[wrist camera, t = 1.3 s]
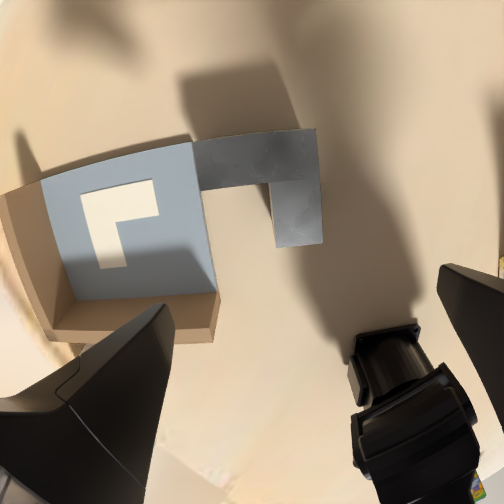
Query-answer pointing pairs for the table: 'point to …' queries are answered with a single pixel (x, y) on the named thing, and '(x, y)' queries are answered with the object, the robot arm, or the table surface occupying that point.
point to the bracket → (270, 177)
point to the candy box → (501, 268)
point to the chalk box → (477, 489)
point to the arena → (115, 246)
